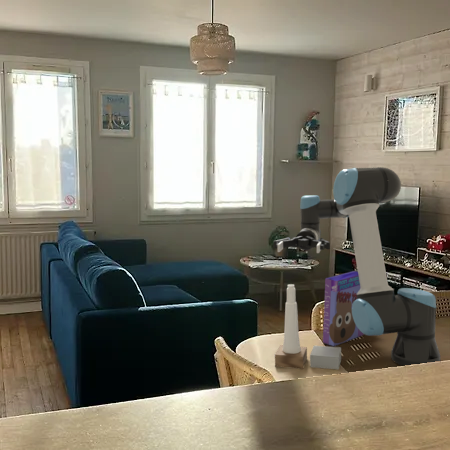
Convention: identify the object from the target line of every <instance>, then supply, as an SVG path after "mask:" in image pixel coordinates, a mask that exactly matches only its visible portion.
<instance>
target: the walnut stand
mask: <svg viewBox="0 0 450 450" xmlns="http://www.w3.org/2000/svg"><path fill="white" fill-rule="evenodd" d="M300 348H301V351H300V352H299V353H296V354H288V353H285V352H283V351H282V349H283V344H279V346H278V349H277V350H276V352H275V353H274V367H279V368H286V369H301V370H303V369H304V368H305V364H306V362H307V359H308V348H307V346H300Z"/></svg>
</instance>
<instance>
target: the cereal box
mask: <svg viewBox="0 0 450 450" xmlns="http://www.w3.org/2000/svg"><path fill="white" fill-rule="evenodd" d="M359 290H360V282H359V276H358V270H353V271H348V272H345V273H342V274H338V275H334V276H330V277H326V278H325V282H324V305H323V307H324V308H323V326H322V327H323V328H322V332H323V333H322V343H323V344H324V345H327V346H329V347H338V346H339V345H342V344H344V343H347V342H349V341H352V340H355V339H357V338H361V337H363V336H364V334H363V333H362V332H361V331H360V330H359V329H358V328H357V326H356V324H355V322H354V319H353V316H352V304H353V302H354V301H355V300H356V299H357V293H358V291H359Z"/></svg>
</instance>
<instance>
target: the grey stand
mask: <svg viewBox="0 0 450 450" xmlns="http://www.w3.org/2000/svg"><path fill="white" fill-rule="evenodd" d="M341 361H342V347H339V346H334V347H333V346H329V345H327V346H325V345H313V347H312V349H311V352H310V354H309V367H310V368H318V369H329V370H331V369H332V370H340V365H341Z"/></svg>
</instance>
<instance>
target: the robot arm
mask: <svg viewBox="0 0 450 450" xmlns="http://www.w3.org/2000/svg"><path fill="white" fill-rule="evenodd" d="M332 189H333V199H321V198H320V196H319V195H316V194H315V195H314V194H312V195H309V194H308V195H302V196H301V198H300V203H299V204H300V207H299V209H300V231H299V232H297V234H296V236H295V237H292V238H290V237H289V236H288V237H285V238H281V239H277V240H275V239H274V240H273V248H274V249H277V253H280V252H282V250H284V248H299V249H300V250H303V251H308V250H311V249H313V248H315V249H316V254H320V252H321V251H323V250H330V249H331V242H330V241H328V240H326V239H324V238H323V237H321V235H322V234H321V233H322V232H321V227H320V226H321V223H320V222H321V220H323V219H340V218H343V219H345V218H348V219H349V224H350V231H351V238H352V243H353V250H354V256H355V262H356V268H357V271H358V276H359V282H360V290H359V291H358V293H357V299H356V300H355V301H354V302H353V304H352V316H353V319H354V322H355V324H356V326H357V328H358V329H359V330H360V331H361V332H362V333H363V335H365V336H382V335H388V334H395V333H397V334H396V338H395V341H394V344H393V345H392V349H391V351H390V352H391V355H390V356H391V360H392V362H394V361H395V362H394V363H395V364H397V363H398V365H400V366H403V365H411V364H420V363H427V362H435V361H440V362H441V353H440V350H439V346H438V344H437V341H436V320H437V319H436V315H437V313H436V312H437V301H436V298H437V297H436V296H435V294H433V293H431V292H429V291H426V290H422V289H417V288H408V287H406V288H405V287H401V288H399V289H398V290H397V294H395V288H392V286H390V285H389V283H388V278H387V272H386V266H385V260H384V253H383V248H382V241H381V236H380V230H379V223H378V219H377V210H378V208H379V207H380V204H385V203H388V202H390V201H393V200H394V199H396V198H397V197H398V195H399V194H400V192H401V189H402V181H401V179H400V176H399V175H398V174H397V173H396V172H395V171H394V170H392V169H391V168H388V167H383V166H382V167H379V166H378V167H352V168H344V169H342V170H340V171H339V173H337V175H336V177H335V180H334V182H333V188H332Z"/></svg>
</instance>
